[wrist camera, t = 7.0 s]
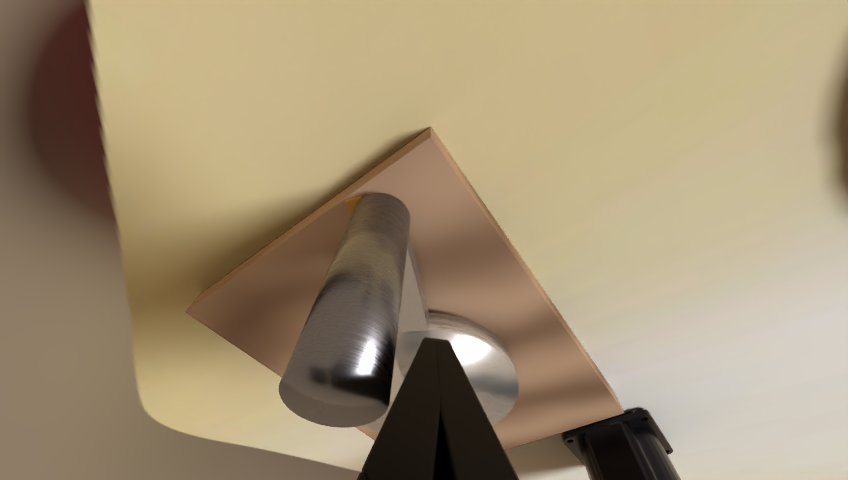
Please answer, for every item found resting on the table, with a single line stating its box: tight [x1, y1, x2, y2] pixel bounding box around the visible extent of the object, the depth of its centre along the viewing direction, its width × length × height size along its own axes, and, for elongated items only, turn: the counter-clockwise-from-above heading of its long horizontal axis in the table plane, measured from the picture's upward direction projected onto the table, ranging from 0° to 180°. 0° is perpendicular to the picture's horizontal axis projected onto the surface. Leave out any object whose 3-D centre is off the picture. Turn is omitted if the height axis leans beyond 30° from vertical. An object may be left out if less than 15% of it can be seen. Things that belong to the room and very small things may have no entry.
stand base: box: [186, 127, 624, 450], centre depth 21 cm, size 22×16×2 cm
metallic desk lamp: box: [279, 193, 519, 432], centre depth 15 cm, size 17×10×8 cm, turn 11°
